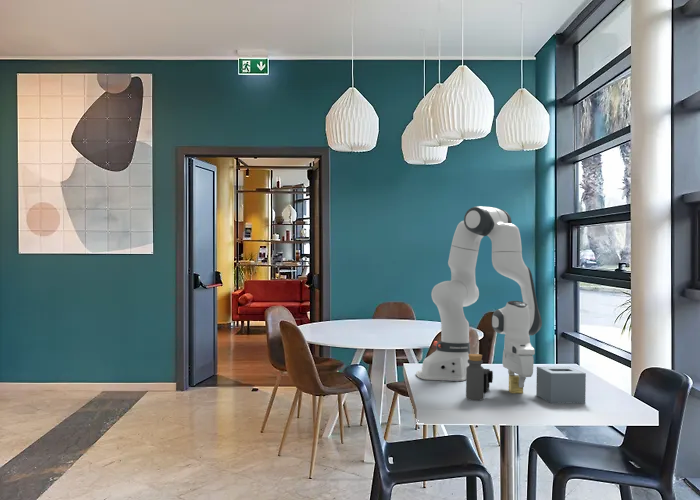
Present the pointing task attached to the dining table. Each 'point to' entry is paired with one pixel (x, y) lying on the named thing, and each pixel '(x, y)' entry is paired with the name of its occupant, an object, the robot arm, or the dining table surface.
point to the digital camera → (487, 379)
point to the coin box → (561, 384)
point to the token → (514, 384)
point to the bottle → (474, 378)
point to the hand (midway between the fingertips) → (516, 384)
